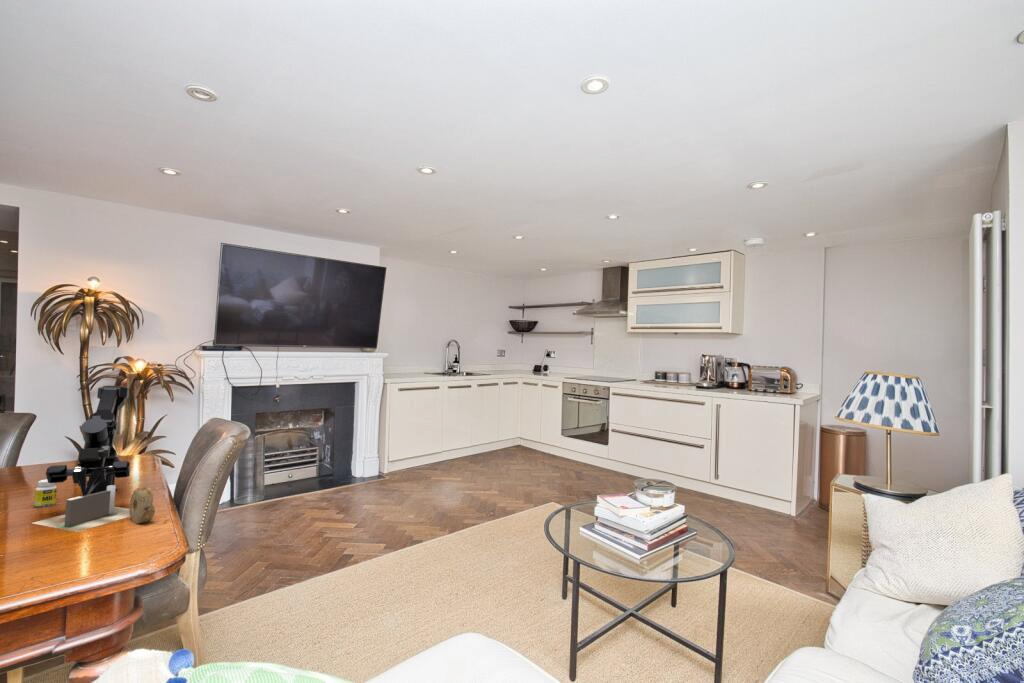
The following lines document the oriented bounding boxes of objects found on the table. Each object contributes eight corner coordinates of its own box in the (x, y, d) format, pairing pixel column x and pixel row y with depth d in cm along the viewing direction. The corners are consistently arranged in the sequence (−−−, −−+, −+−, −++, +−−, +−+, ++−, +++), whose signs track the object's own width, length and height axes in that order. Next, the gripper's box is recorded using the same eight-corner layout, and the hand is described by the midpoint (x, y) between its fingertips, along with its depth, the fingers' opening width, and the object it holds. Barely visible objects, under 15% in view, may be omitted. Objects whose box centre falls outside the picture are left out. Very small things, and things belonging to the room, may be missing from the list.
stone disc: (125, 520, 135) (128, 486, 135) (140, 517, 138) (143, 483, 138) (139, 528, 129) (141, 493, 130) (154, 525, 132) (157, 490, 133)
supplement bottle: (40, 510, 139) (43, 483, 140) (29, 509, 140) (31, 481, 141) (59, 506, 144) (61, 479, 144) (47, 504, 145) (50, 477, 145)
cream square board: (102, 506, 145) (102, 504, 145) (145, 513, 141) (145, 511, 141) (31, 525, 128) (31, 522, 128) (77, 534, 124) (77, 531, 124)
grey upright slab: (109, 512, 138) (112, 484, 139) (115, 513, 138) (117, 485, 138) (63, 526, 127) (66, 495, 127) (69, 526, 126) (71, 496, 126)
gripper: (50, 438, 134) (36, 486, 125) (132, 435, 145) (124, 479, 135) (55, 459, 141) (41, 506, 131) (133, 454, 151) (125, 498, 142)
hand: (84, 496), depth 135 cm, fingers closed
